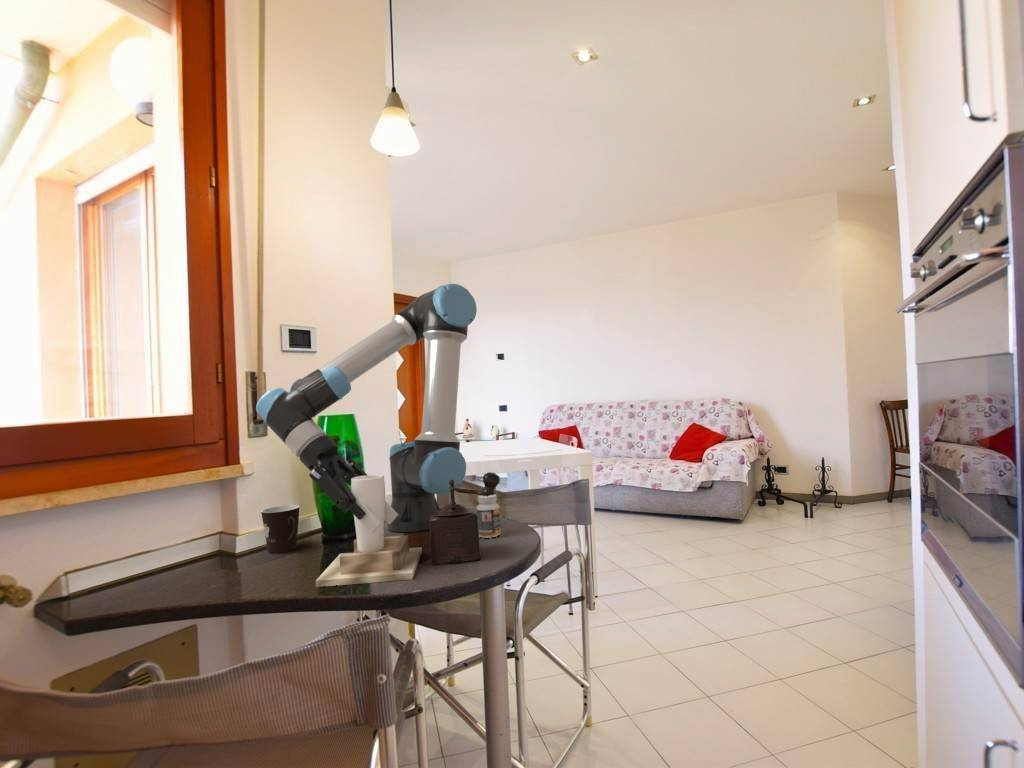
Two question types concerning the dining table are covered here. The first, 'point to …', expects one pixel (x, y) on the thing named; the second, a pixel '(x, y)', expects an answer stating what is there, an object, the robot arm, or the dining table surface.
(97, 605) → the dining table surface
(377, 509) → the drinking glass
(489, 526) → the pill bottle
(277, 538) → the coffee mug
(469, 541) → the manual coffee grinder
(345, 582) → the stand
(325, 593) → the dining table surface
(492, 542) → the dining table surface
